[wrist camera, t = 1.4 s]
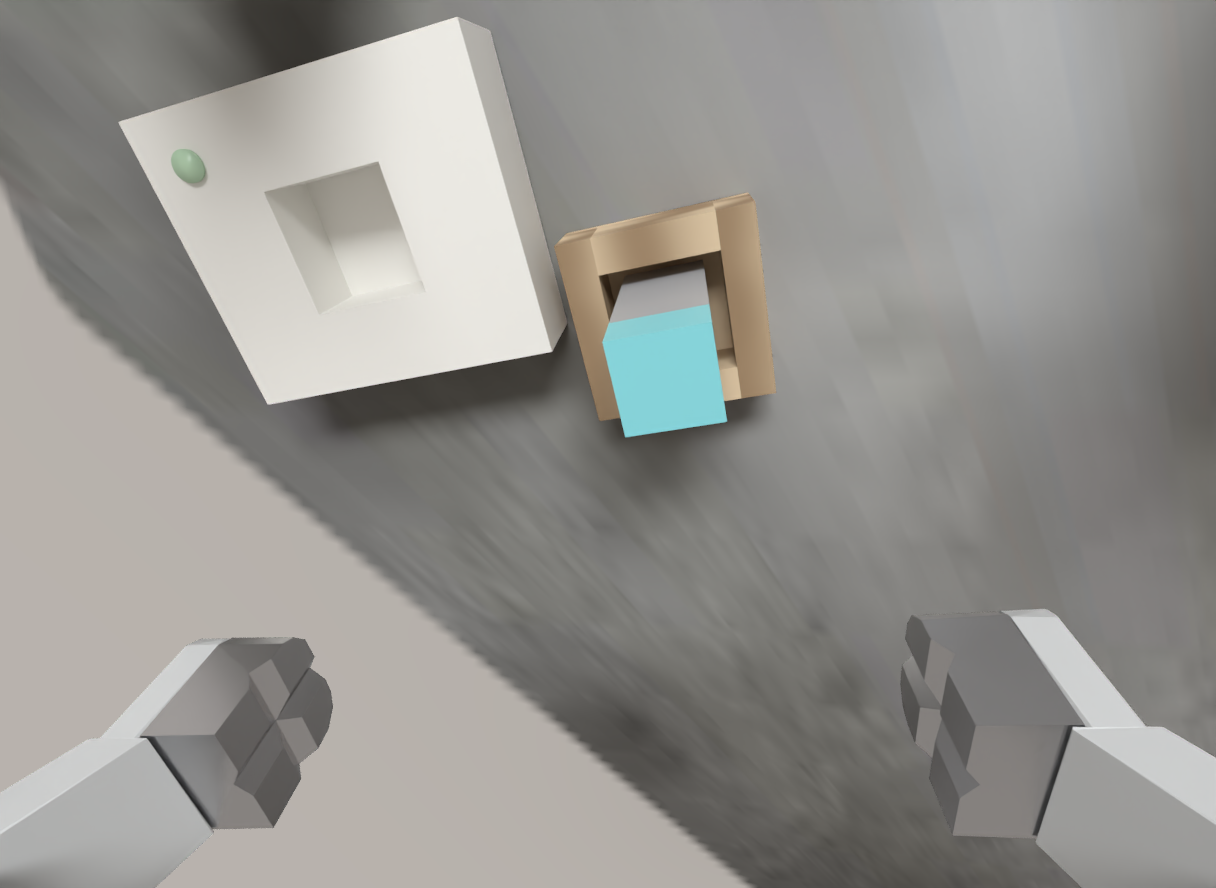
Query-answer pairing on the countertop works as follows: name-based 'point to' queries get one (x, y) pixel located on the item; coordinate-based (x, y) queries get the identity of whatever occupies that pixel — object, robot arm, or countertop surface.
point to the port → (361, 214)
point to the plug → (664, 352)
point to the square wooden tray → (664, 241)
